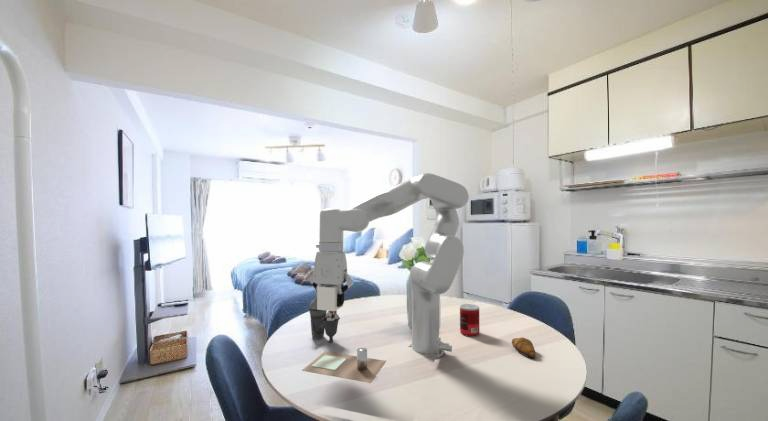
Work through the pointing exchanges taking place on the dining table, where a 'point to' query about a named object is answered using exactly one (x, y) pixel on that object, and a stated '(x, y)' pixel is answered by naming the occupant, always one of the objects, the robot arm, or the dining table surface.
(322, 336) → the beverage cup
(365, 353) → the post
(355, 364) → the board
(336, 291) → the white cardboard box
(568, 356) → the dining table surface
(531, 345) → the croissant
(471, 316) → the canned food
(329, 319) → the sundae
